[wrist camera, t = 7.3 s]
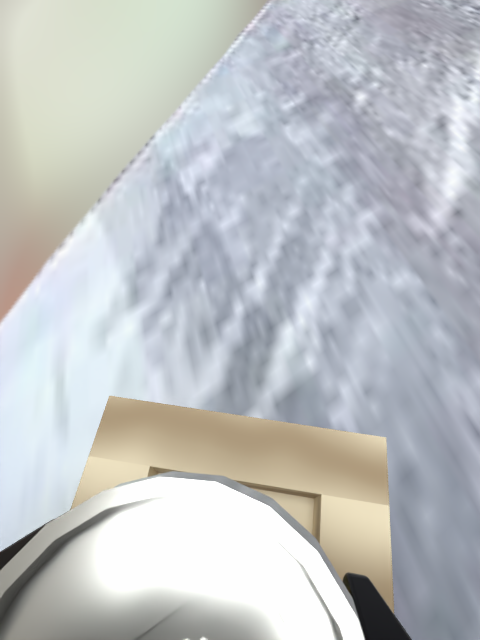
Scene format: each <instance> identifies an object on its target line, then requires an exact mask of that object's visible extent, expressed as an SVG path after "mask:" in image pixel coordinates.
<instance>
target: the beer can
mask: <svg viewBox="0 0 480 640" xmlns="http://www.w3.org/2000/svg"><path fill="white" fill-rule="evenodd" d="M0 640H366V639H365V636H364V633H363V630H362V627H361V623H360V620H359V617H358V614H357V611H356V607H355V604H354V601H353V598H352V596H351V595H350V593H349V592H348V590H347V588H346V587H345V585H344V583H343V582H342V580H341V578H340V577H339V575H338V574H337V572H336V570H335V569H334V567H333V565H332V564H331V562H330V560H329V559H328V557H327V556H326V554H325V552H324V551H323V549H322V547H321V546H320V544H319V542H318V541H317V539H316V538H315V537H314V536H313V535H312V534H311V533H310V532H308V531H307V530H306V529H305V528H304V527H303V526H302V525H301V524H300V523H299V522H298V521H297V520H295V519H294V518H293V517H292V516H291V515H290V514H289V513H288V512H287V511H286V510H285V509H283V508H282V507H281V506H280V505H279V504H278V503H277V502H276V501H275V500H274V499H273V498H271V497H269V496H267V495H264V494H262V493H260V492H258V491H256V490H253V489H251V488H249V487H247V486H245V485H243V484H240V483H238V482H236V481H234V480H232V479H229V478H227V477H225V476H220V475H210V474H199V473H188V472H177V471H170V472H166V473H162V474H158V475H154V476H150V477H146V478H142V479H137V480H133V481H129V482H125V483H121V484H119V485H117V486H115V487H114V488H112V489H108V490H104V491H102V492H100V493H98V494H97V495H95V496H93V497H92V498H90V499H88V500H86V501H85V502H83V503H81V504H80V505H78V506H76V507H75V508H73V509H71V510H70V511H68V512H66V513H65V514H63V515H61V516H59V517H58V518H56V519H54V520H53V521H51V522H49V523H48V524H46V525H45V526H44V527H43V528H42V529H41V530H40V531H39V532H38V533H37V534H36V535H35V536H34V537H33V538H32V539H31V540H30V541H29V542H28V543H27V544H26V545H25V546H24V547H23V548H22V549H21V550H20V551H19V552H18V553H17V554H16V555H15V556H14V557H13V558H12V559H11V560H10V561H9V562H8V563H7V564H6V565H5V566H4V567H3V568H2V569H1V570H0Z"/></svg>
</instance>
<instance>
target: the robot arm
mask: <svg viewBox="0 0 480 640" xmlns="http://www.w3.org/2000/svg"><path fill="white" fill-rule="evenodd" d="M53 520H54V519H53ZM53 520H51V521H53ZM51 521H49V522H51ZM49 522H48V523H49ZM48 523H46V524H48ZM46 524H44V525H43V526H41V527H39V528H38V529H36V530H35V531H33V532H31V533H30V534H28V535H27V536H25V537H23V538H22V539H20V540H18V541H17V542H15V543H14V544H12V545H10V546H9V547H7V548H6V549H4V550H2V551H1V552H0V570H1V569H2V568H3V567H4V566H5V565H6V564H7V563H8V562H9V561H10V560H11V559H12V558H13V557H14V556H15V555H16V554H17V553H18V552H19V551H20V550H21V549H22V548H23V547H24V546H25V545H26V544H27V543H28V542H29V541H30V540H31V539H32V538H33V537H34V536H35V535H36V534H37V533H38V532H39V531H40V530H41V529H42V528H43V527H44V526H45V525H46ZM342 582H343V583H344V585H345V587H346V588H347V590H348V592H349V593H350V595H351V596H352V598H353V601H354V604H355V607H356V611H357V614H358V617H359V620H360V623H361V627H362V630H363V633H364V636H365V639H366V640H412V639H411V638H410V636H409V635H408V634H407V632H406V631H405V629H404V628H403V626H402V625H401V623H400V622H399V621H398V619H397V618H396V616H395V615H394V613H393V612H392V611H391V609H390V608H389V606H388V605H387V603H386V602H385V600H384V599H383V598H382V596H381V595H380V593H379V592H378V590H377V589H376V588H375V586H374V585H373V583H372V582H371V580H370V579H369V578H368V577H367V576H365V575H361V574H355V573H350V572H348V573H345V575H344V577H343V581H342Z"/></svg>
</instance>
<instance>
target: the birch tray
mask: <svg viewBox="0 0 480 640" xmlns="http://www.w3.org/2000/svg"><path fill="white" fill-rule="evenodd" d="M170 471H177V472H188V473H199V474H210V475H220V476H225V477H227V478H229V479H232V480H234V481H236V482H238V483H240V484H243V485H245V486H247V487H249V488H251V489H253V490H256V491H258V492H260V493H262V494H264V495H267V496H269V497H271V498H273V499H274V500H275V501H276V502H277V503H278V504H279V505H280V506H281V507H282V508H283V509H285V510H286V511H287V512H288V513H289V514H290V515H291V516H292V517H293V518H294V519H295V520H297V521H298V522H299V523H300V524H301V525H302V526H303V527H304V528H305V529H306V530H307V531H308V532H310V533H311V534H312V535H313V536H314V537H315V538H316V539H317V541H318V542H319V544H320V546H321V547H322V549H323V551H324V552H325V554H326V556H327V557H328V559H329V560H330V562H331V564H332V565H333V567H334V569H335V570H336V572H337V574H338V575H339V577H340V578H341V580H342V581H343V577H344V575H345V573H348V572H350V573H355V574H361V575H365V576H367V577H368V578H369V579H370V580H371V582H372V583H373V585H374V586H375V588H376V589H377V590H378V592H379V593H380V595H381V596H382V598H383V599H384V600H385V602H386V603H387V605H388V606H389V608H390V609H391V611H392V612H393V613H394V601H393V579H392V557H391V535H390V513H389V491H388V468H387V446H386V438H385V437H379V436H372V435H366V434H359V433H352V432H346V431H339V430H333V429H326V428H319V427H313V426H306V425H300V424H293V423H286V422H280V421H273V420H267V419H260V418H253V417H247V416H240V415H234V414H227V413H220V412H214V411H207V410H201V409H194V408H187V407H181V406H174V405H168V404H161V403H154V402H148V401H141V400H135V399H128V398H121V397H115V396H109V398H108V401H107V404H106V407H105V410H104V413H103V416H102V419H101V422H100V425H99V428H98V430H97V433H96V436H95V439H94V442H93V445H92V448H91V451H90V454H89V457H88V460H87V463H86V465H85V468H84V471H83V474H82V477H81V480H80V483H79V486H78V489H77V492H76V495H75V498H74V500H73V503H72V506H71V509H73V508H75V507H76V506H78V505H80V504H81V503H83V502H85V501H86V500H88V499H90V498H92V497H93V496H95V495H97V494H98V493H100V492H102V491H104V490H108V489H112V488H114V487H115V486H117V485H119V484H121V483H125V482H129V481H133V480H137V479H142V478H146V477H150V476H154V475H158V474H162V473H166V472H170ZM71 509H70V510H71Z"/></svg>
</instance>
